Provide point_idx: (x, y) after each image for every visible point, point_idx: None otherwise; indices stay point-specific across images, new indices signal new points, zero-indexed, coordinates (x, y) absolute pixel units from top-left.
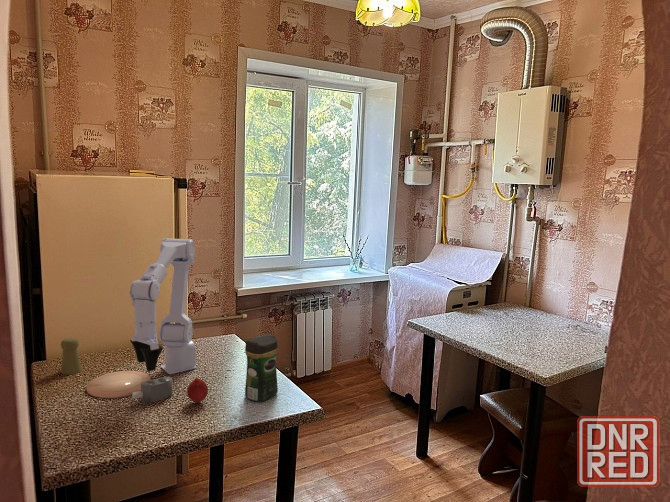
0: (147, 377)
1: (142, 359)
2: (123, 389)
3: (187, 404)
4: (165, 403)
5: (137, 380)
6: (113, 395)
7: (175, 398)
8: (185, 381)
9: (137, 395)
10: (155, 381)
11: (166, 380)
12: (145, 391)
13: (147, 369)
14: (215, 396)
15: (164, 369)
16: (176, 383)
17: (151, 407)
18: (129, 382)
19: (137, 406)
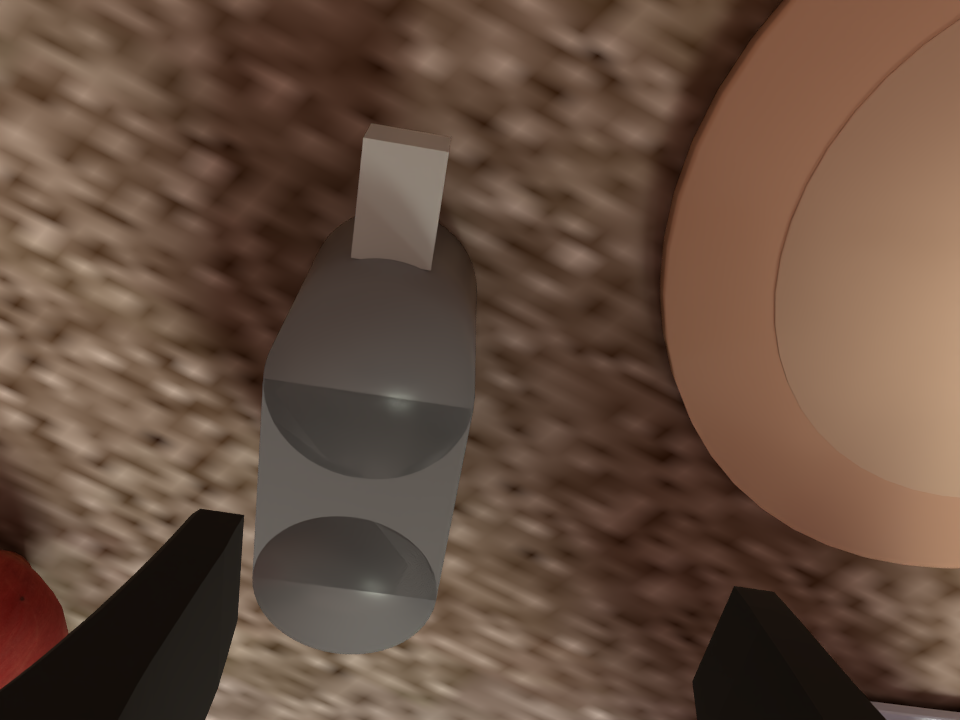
0: (870, 533)
1: (727, 680)
2: (828, 199)
3: (31, 490)
4: (188, 366)
5: (900, 431)
6: (788, 12)
7: (235, 483)
8: (517, 698)
9: (362, 181)
10: (374, 489)
11: (304, 584)
12: (307, 287)
13: (180, 528)
14: None
15: (890, 711)
16: (542, 637)
17: (188, 217)
18: (937, 346)
19: (322, 114)
